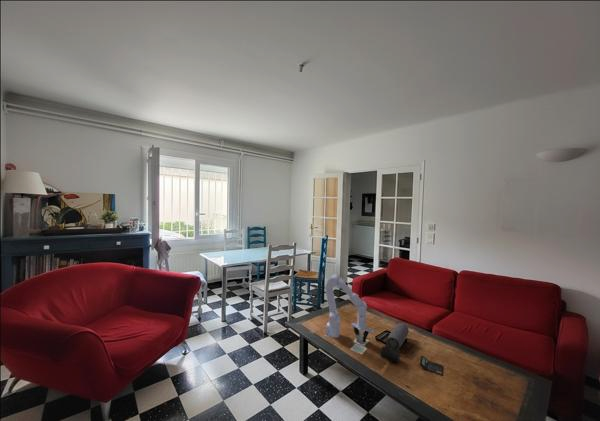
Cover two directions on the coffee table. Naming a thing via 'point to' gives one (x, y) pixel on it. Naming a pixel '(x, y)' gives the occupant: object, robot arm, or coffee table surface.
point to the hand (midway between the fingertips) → (361, 339)
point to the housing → (360, 337)
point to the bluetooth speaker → (397, 336)
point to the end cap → (390, 354)
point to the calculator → (431, 366)
